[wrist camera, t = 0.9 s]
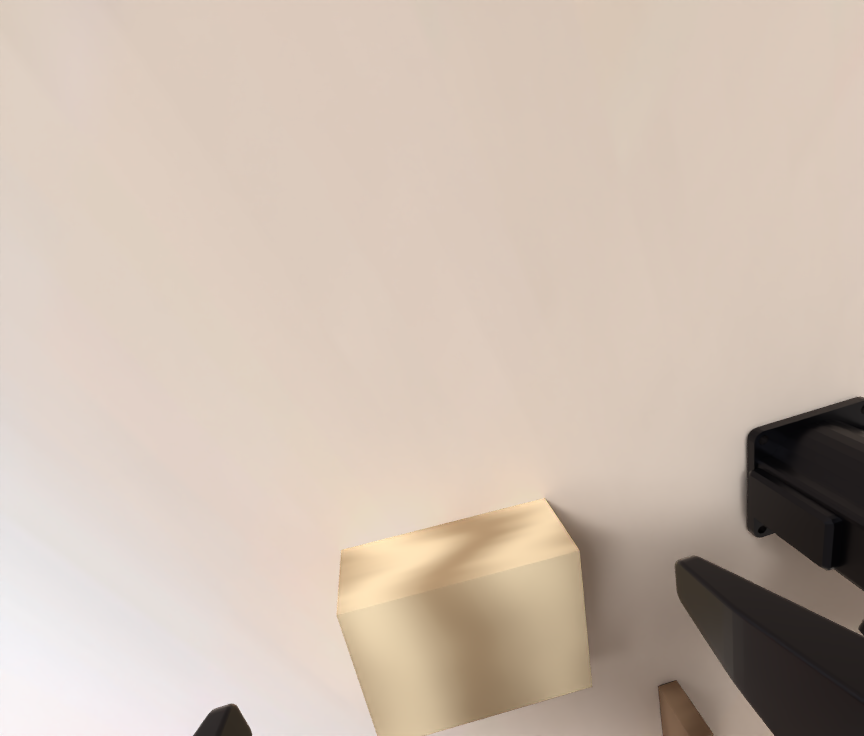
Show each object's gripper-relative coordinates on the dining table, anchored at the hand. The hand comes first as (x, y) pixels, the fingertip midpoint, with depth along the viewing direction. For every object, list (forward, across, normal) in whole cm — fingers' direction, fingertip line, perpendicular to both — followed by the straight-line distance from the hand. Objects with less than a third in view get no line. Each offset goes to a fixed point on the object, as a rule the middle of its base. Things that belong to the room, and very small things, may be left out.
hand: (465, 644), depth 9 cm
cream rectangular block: (+11, 0, +10) cm, 15 cm away
